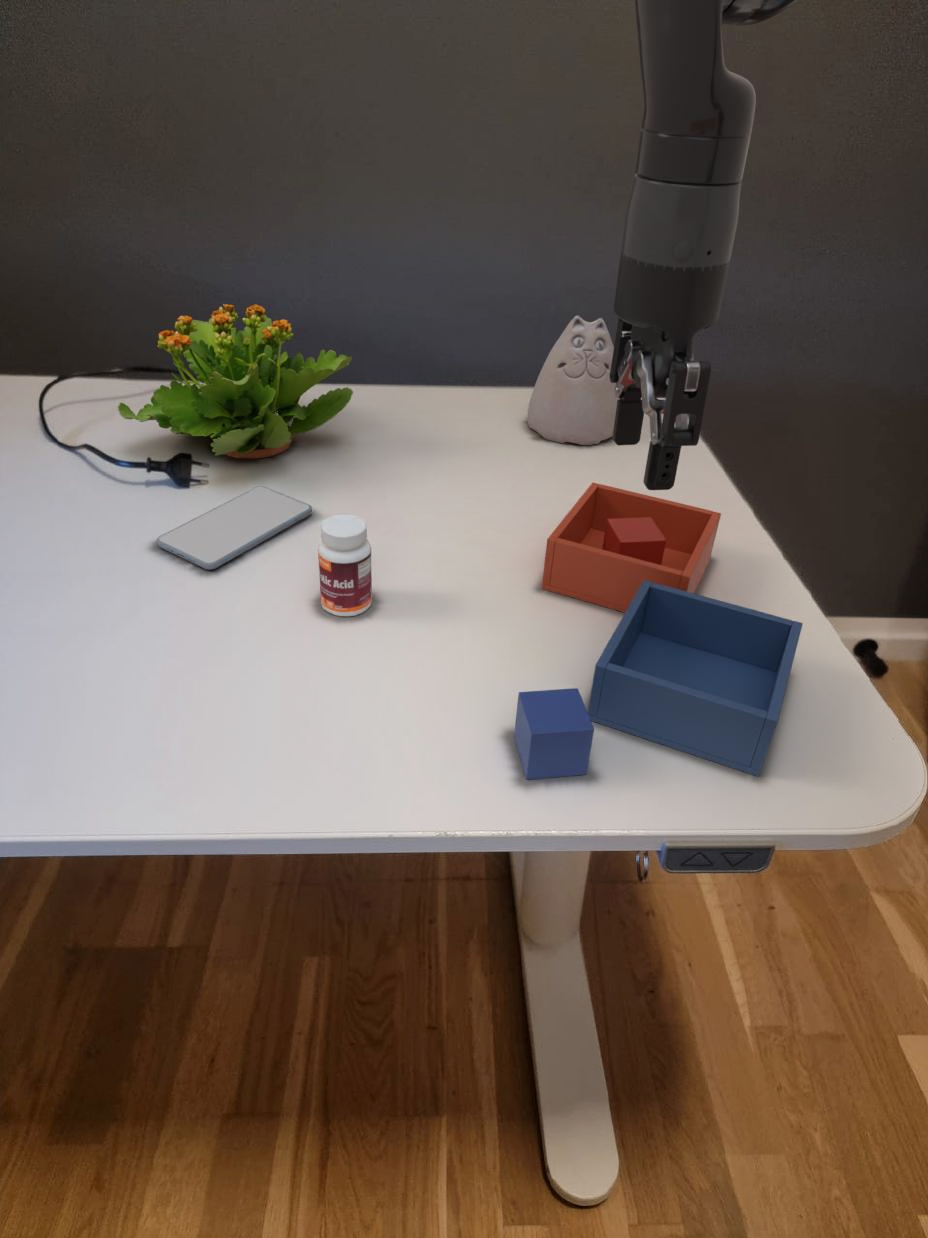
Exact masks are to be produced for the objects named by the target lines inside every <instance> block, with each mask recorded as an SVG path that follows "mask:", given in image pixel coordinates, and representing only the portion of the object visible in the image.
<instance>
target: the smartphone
mask: <svg viewBox="0 0 928 1238" xmlns="http://www.w3.org/2000/svg"><path fill="white" fill-rule="evenodd" d="M312 513H313V507H312V505H310V504H308V503H306V502H303V501H301V500H298V499H295V498H294V497H291V496H289V495H286V494H284V493H281V492H278V491H276V490H273V489H271V488H269V487H266V486H261V485H260V486H256V487H254V488H252V489H250V490H248V491H246V492H244V493H242V494H240V495H238V496H236V497H235V498H232V499H230V500H228V501H226V502H223V504H220V505H218V506H216V507H214V508H212V509H210V510H209V511H207V512H204V513H203V514H201V515H199V516H197V517H195V518H193V519H191V520H189V521H187V522H185V523H183V524H181V525H179V526H178V527H175V528H173V529H171V530H169V531H167V532H166V533H163V534H161V535H160V536H158V537H157V538H156V545H157V546H158V547H159V548H161V549H163V550H165V551H167V552H169V553H171V554H173V555H175V556H178V557H180V558H182V559H183V560H186V561H188V562H190V563H191V564H194V565H195V566H198V567H201V568H202V569H204V570H214V569H217V568H219V567H220V566H223V565H225V564H226V563H228V562H230V561H231V560H233V559H235V558H236V557H239V556H240V555H242V554H243V553H245V552H247V551H249V550H250V549H253V548H254V547H255V546H258V545H260V544H261V543H263V542H264V541H266V540H268V539H270V538H271V537H273V536H275V535H277V534H278V533H281V532H282V531H283V530H286V529H287V528H289V527H291V526H292V525H294V524H296V523H298V522H299V521H301V520H303V519H305V518H306V517H308V516H310V515H311V514H312Z"/></svg>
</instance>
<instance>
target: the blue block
mask: <svg viewBox="0 0 928 1238" xmlns="http://www.w3.org/2000/svg"><path fill="white" fill-rule="evenodd" d="M581 695H582V694H581V693H580V691H579V688H578V687H574V688H562V689H561V688H560V689H545V690H531V691H519V692H518V694H517V702H516V703H517V704H516V706H517V707H516V714H515V723H514V724H515V725H514V733H513V738H514V743H515V745H516V749H517V752H518V755H519V759H520V763H521V766H522V770H523V774H524V776H525V779H526V780H536V779H537V780H538V779H549V778H560V777H572V776H573V777H574V776H584V775H587V773H588V767H589V761H590V754H591V749H592V746H593V745H592V744H593V739H594V733H595V728H594V725H593V723H592V721H591V720H590V718H589V715H588V709H587V708H586V705H585V703H584V700H583V698H582V696H581Z"/></svg>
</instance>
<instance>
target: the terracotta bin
mask: <svg viewBox="0 0 928 1238" xmlns="http://www.w3.org/2000/svg"><path fill="white" fill-rule="evenodd" d="M721 516H722V513H721V512H717V511H714V510H710V509H705V508H701V507H697V506H693V505H690V504H686V503H681V502H677V501H672V500H668V499H664V498H659V497H656V496H653V495H648V494H643V493H639V492H635V491H631V490H627V489H624V488H618V487H614V486H611V485H610V486H609V485H605V484H603V483H597V482H592V483H591V484H590V485H589V486H588V488H586V489H585V491H584V492H583V493H582V495H581V496H580V497H579V499H578V500H577V502H576V503H575V504H574V505H573V506H572V508H571V509H570V510H569V511H568V512H567V514H565V516H564V517H563V518H562V519H561V521H560V523H559V524H558V525H557V526H556V528H555V529H554V530H553V532H551V534H550V535H549V536H548V538H547V539H546V546H545V555H544V564H543V572H542V582H541V590H546V591H548V592H552V593H555V594H559V595H562V596H566V597H569V598H573V599H577V600H580V601H583V602H587V603H591V604H594V605H597V606H600V607H604V608H608V609H611V610H615V611H618V612H621V613H625V612H626V610H627V609H628V607H629V605H630V603H631V601H632V600H633V598H634V596H635V594H636V593H637V591H638V589H639V587H640V586H641V584H642V582H643V580H646V581H649V582H652V583H657V584H661V585H664V586H668V587H672V588H675V589H679V590H683V591H686V592H690V593H694V594H696V591H697V589H698V587H699V585H700V582H701V580H702V578H703V576H704V574H705V571H706V569H707V568H708V565H709V563H710V561H711V557H712V553H713V549H714V546H715V545H714V544H715V541H716V536H717V534H718V533H717V532H718V528H719V524H720V520H721ZM643 517H651V518H652V520H653V521H654V522H655V524H656V525H657V527H658V528H659V530H660V531H661V533H662V534H663V536H664V537H665V539H666V545H665V549H664V554H663V559H662V564H661V565H659V564H655V563H651V562H647V561H643V560H640V559H636V558H632V557H628V556H625V555H621V554H617V553H613V552H609V551H606V550H602V548H603V542H604V536H605V529H606V523H607V519H617V518H643Z"/></svg>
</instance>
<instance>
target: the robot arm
mask: <svg viewBox="0 0 928 1238" xmlns="http://www.w3.org/2000/svg"><path fill="white" fill-rule="evenodd" d="M797 1H798V0H634V7H635V18H636V28H637V29H636V31H637V38H638V39H637V40H638V50H639V51H638V53H639V67H640V77H641V83H642V92H643V115H642V120H641V128H640V135H639V142H638V150H637V158H636V164H635V165H636V166H635V174H634V178H633V184H632V188H631V192H630V195H629V199H628V203H627V207H626V212H625V219H624V226H623V235H622V241H621V249H620V257H619V265H618V274H617V279H616V280H617V281H616V287H615V288H616V289H615V295H614V296H615V297H614V303H613V311H614V313H615V315H616V316H617V324H616V325H617V327H616V331H615V337H614V338H615V339H614V344H613V346H614V351H613V357H612V364H611V370H610V375H609V377H610V381H611V383H616V386H615V390H614V392H615V396H616V398H620V399H619V400H618V401H617V408H616V415H615V422H614V429H613V436H612V437H611V438H612V440H613V442H614V443H615V445H617V446H635V445H637V444H639V442H640V440H641V436H642V430H643V424H644V416H645V415H647V416H648V417H649V431H650V432H649V433H650V441H649V445H648V452H647V458H646V464H645V470H644V475H643V485H644V486H645V488H646V489H647V490H649V491H669V490H671V489H672V488H674V485H675V482H676V476H677V471H678V466H679V460H680V456H681V450H682V447H691V446H692V447H694V446H695V447H696V446H698V444H699V440H700V435H701V431H702V430H701V429H702V424H703V419H704V418H703V417H704V412H705V408H706V407H705V406H706V402H707V401H706V400H707V395H708V389H709V383H710V378H711V374H712V373H711V372H712V365H711V362H710V360H695V359H694V336H695V335H696V334H697V333H699V332H700V331H701V330H706V329H709V328H710V327H712V326H714V325H715V324H716V323H717V322H718V320H719V318H720V313H721V307H722V304H723V303H722V302H723V298H724V293H725V288H726V283H727V277H728V273H729V268H730V263H731V256H732V254H733V253H732V252H733V247H734V242H735V237H736V233H737V228H738V221H739V214H740V198H741V190H742V181H743V178H744V174H745V169H746V163H747V157H748V153H749V147H750V143H751V136H752V132H753V127H754V121H755V115H756V107H757V93H756V90H755V87H754V85H753V83H751V81H749V80H748V79H747V78H745V77H744V76H742V75H741V74H737V73H735V72H732V71H730V70H729V69H728V68H727V67H726V65H725V58H724V47H723V30H722V29H723V28H722V26H723V25H726V26H727V25H728V26H751V25H756V24H760V23H763V22H764V21H767V20H769V19H771V18H774V17H775V16H777V15H779V14H780V13H782V12H783V11H785V10H786V9H788V8H789V7H791V6H792V5H793V4H795V3H796V2H797ZM688 415H689V417H688Z"/></svg>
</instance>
